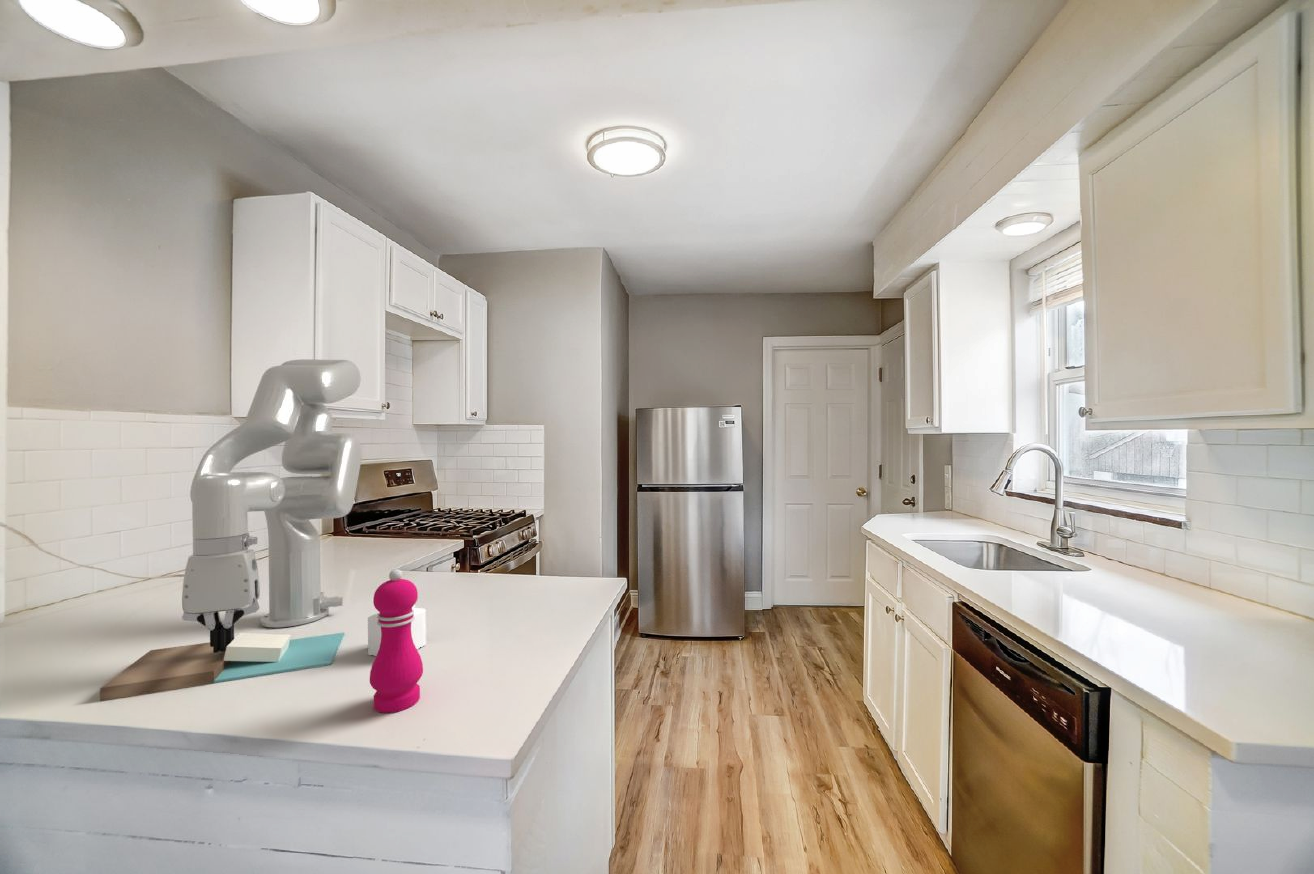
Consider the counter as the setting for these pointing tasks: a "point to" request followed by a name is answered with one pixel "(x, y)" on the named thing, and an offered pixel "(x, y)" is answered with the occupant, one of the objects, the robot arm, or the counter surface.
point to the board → (167, 671)
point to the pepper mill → (396, 647)
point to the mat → (288, 658)
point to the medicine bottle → (416, 630)
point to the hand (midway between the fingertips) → (222, 649)
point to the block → (257, 647)
